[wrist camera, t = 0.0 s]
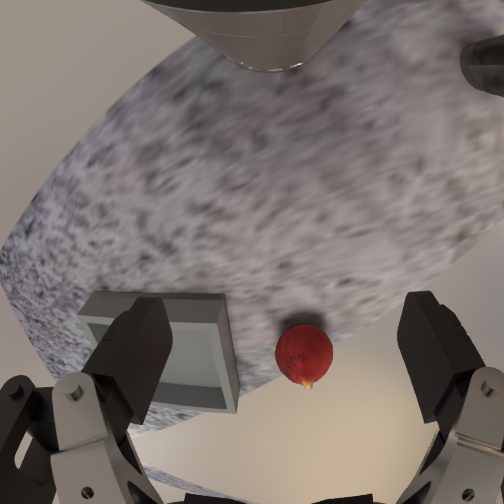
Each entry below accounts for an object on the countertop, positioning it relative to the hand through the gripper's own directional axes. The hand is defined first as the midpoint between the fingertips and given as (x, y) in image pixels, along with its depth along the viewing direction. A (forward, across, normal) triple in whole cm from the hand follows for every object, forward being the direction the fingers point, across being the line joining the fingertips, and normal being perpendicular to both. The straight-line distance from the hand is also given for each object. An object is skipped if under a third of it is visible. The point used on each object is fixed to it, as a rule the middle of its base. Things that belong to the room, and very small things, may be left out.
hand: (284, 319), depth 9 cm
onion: (+18, -2, +16) cm, 24 cm away
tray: (+18, +14, +19) cm, 30 cm away
